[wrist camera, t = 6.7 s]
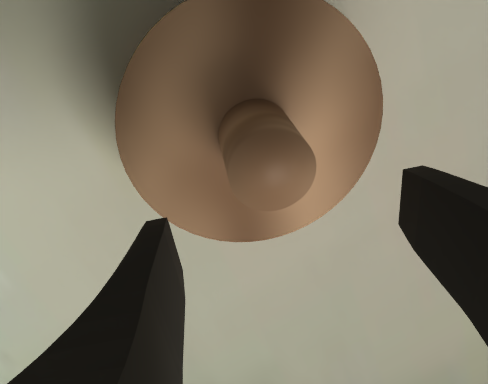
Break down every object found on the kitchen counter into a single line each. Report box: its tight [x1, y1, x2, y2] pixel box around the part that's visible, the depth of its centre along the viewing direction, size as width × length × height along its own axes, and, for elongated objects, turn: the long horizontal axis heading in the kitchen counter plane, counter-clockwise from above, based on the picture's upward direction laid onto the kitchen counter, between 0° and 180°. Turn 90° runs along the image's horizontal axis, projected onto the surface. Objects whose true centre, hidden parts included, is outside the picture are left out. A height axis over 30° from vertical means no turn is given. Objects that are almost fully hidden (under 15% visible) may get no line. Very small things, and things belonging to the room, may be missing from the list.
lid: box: [115, 0, 383, 242], centre depth 15 cm, size 11×11×4 cm
